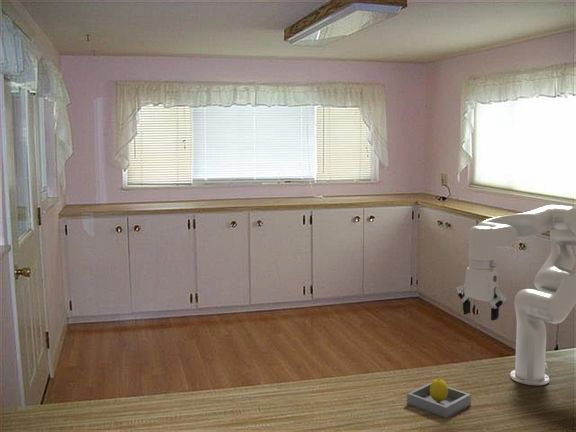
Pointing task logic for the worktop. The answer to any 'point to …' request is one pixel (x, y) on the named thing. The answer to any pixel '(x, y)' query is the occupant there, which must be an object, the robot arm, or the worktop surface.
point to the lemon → (438, 390)
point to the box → (443, 409)
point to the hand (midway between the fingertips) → (480, 316)
